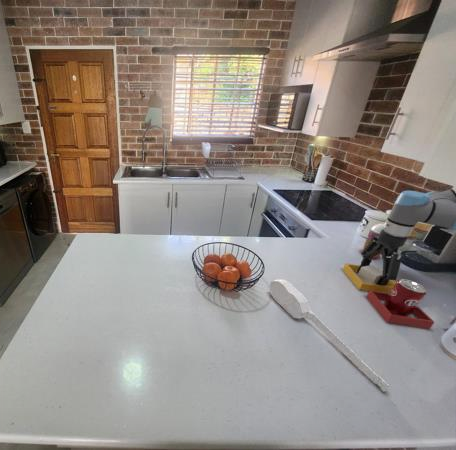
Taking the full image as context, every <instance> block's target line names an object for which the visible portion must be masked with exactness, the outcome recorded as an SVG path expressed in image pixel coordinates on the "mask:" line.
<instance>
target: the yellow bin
mask: <svg viewBox="0 0 456 450" xmlns="http://www.w3.org/2000/svg"><path fill="white" fill-rule="evenodd" d="M360 265H361V264H351V263H345V264H344V266H343V268H342V271H343V272H344V274H346V276H347V277H348V278H349V279H350V281H351V282H352V283H353V284H354V286H355V287H356V288H357V289H358V290H359V291H364V292H369V291H378V292H385V293H390V292H391V290H392V289H393V287H394V285H395V284H396V281H395V280H389V282H388V283H387V285H386V286H383V285H376V284H369V283H363V282H362V281H361V279H360V278H359V277H358V276H357V275H358V274H356V273H358V272H357V271H358V269H359V267H360ZM378 268H379V269H380V270H382V268H381V267H378Z"/></svg>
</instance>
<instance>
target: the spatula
mask: <svg viewBox="0 0 456 450" xmlns="http://www.w3.org/2000/svg"><path fill="white" fill-rule="evenodd" d="M268 288H269V290H270V295H271V296H272V297H273V299H274V301H276V302H277V303H278V304H279V305H280V306H281V307H282V308H283V309H284V310H285V311H286V313H288V314H289V315H290V316H291V317H292V318H294V319H299V320H300V319H303V318H306V319H307V320H308V321H311V323H313V324H314V325H315V326H316V327H317V328H318V329H319V330H320V331H321V332H322V333H323V334H324V336H326V337H327V339H329V340H330V341H331V342H332V344H334V346H335V347H337V349H338V350H339V351H341V353H343V354H344V356H345V357H347V359H349V360H350V362H352V364H353V365H354V366H355V367H356V368H357V369H358V370H359V371H361V373H362V374H364V375H365V377H367V378H368V379H369V380H370V381H371V382H372V383H373V384H375V385H376V384H377V385H378V386H379V387H380V390H381V391H382V392H384V393H385V392H386V391H387V390H388V389H389V388H390V386H389V384H388V382H386V381H385V380H384V379H383V378H382V377H381V376H379V375H378V374H376V373H375V371H373V370H372V369H371V367H370V366H368V365H367V364H366V363H365V361H363V360H362V359H361V357H359V356H358V355H357V354H356V353H355V352H354V351H353V350H352V349H351V348H350V347H349V346H348V345H347V344H346V343H345V342H344V341H343V340H342V339H340V337H339V336H337V334H336V333H334V332H333V330H332V329H330V328H329V327H328V326H327V325H326V324H325V323H324V322H323V321H322V320H321V319H320V318H319V317H318V316H317V315H316V314H315V313H314V312H313V311H312V309H311V306H310V302H309V300H308V299H307V297H305V295H304V294H303V292H300V291H299V290H298V289H297V288H296V287H295V286H294V284H292V283H291V282H290V281H288V280H286V279H276V280H271V281H270V284H269V286H268Z"/></svg>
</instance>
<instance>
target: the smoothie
mask: <svg viewBox="0 0 456 450" xmlns="http://www.w3.org/2000/svg"><path fill="white" fill-rule="evenodd" d="M384 224H385V222H379V223H376V224H374V225H373V226H371V227H370V229H369V232H368V235H367V237H366V240H365V241H364V245H363V247H362V249H361V252H362V251H363V250H364V249H365V247H366V246H367V245H368V244H369V243H370V242H371V240H372V238H373V237H378V235H379V233H380V231H381V230H383V226H384ZM381 256H382V255H381V254H380V253H379V254H378V255H376V256H374V257H373V258H372V259H371V260H376V259H378V258H379V257H381Z"/></svg>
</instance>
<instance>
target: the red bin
mask: <svg viewBox="0 0 456 450" xmlns="http://www.w3.org/2000/svg"><path fill="white" fill-rule="evenodd" d="M388 295H389V293H385V292H378V291H368V293H367V294H366V297H365V298H366V299H367V300H368V301H369V303H370V304H371V305H372V306H373V307H374V309H375V310H376V311H377V313H379V315H380V316H381V317H382V318H383V320H384V321H385V322H386V323H387V324H393V325H399V326H406V327H413V328H419V329H425V330H430V329H431V328H432V327H433V325H434V324H435V321H434V320H433V319H432V318H431V317H430V316H429V315H428V314H427V313H426V312H425V311H424V310H423V309H421V307H420V306H419V305H418V306H417V308H416V309H415V311H414V312H413V314H412V315H413V316H414V317H412V316H410V317H405V316H398V315H392V314H391V313H390V311H389V310H388V309H387V308H386V307H385V306H384V304H383V303H384V302H385V300H386V298H387V297H388ZM382 301H383V302H382Z"/></svg>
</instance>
